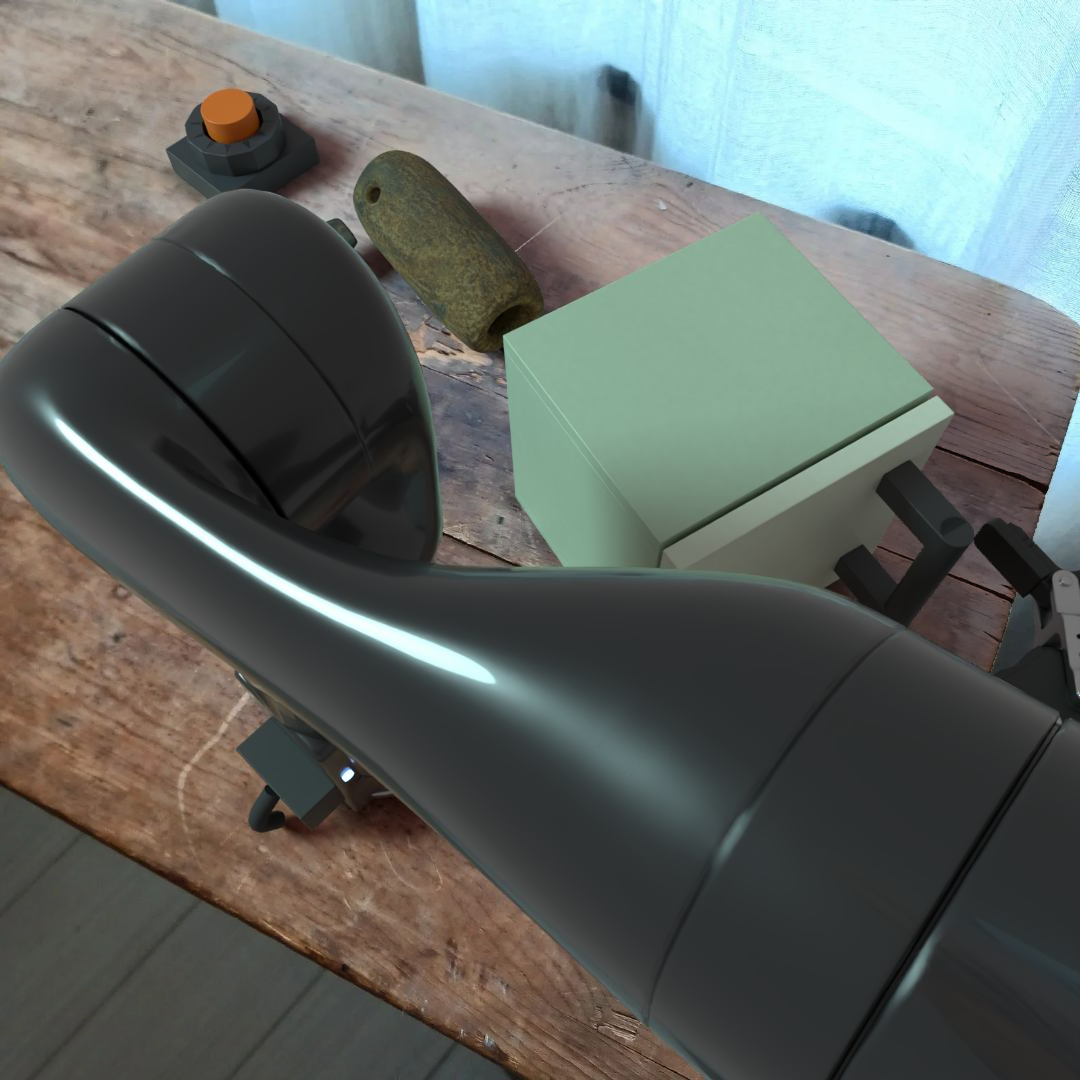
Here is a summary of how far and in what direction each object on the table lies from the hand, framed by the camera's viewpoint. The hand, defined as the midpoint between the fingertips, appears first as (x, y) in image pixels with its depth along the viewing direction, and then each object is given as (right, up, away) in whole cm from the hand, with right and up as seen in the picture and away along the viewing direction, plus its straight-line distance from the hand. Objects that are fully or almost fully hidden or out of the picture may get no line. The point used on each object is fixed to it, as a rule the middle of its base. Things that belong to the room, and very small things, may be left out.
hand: (916, 568), depth 50 cm
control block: (-40, +29, +25) cm, 55 cm away
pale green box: (-10, +3, +11) cm, 15 cm away
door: (-5, -5, +6) cm, 9 cm away
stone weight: (-24, +18, +20) cm, 36 cm away
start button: (-40, +30, +22) cm, 54 cm away
